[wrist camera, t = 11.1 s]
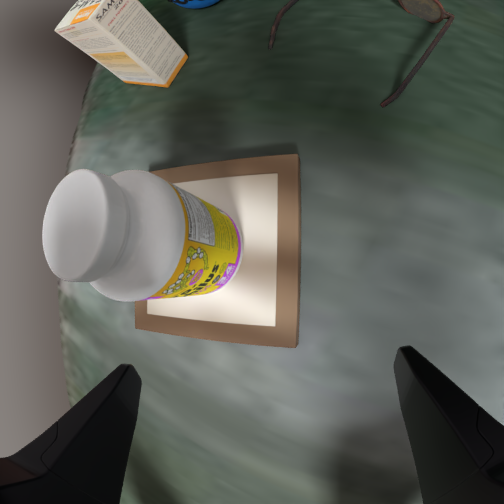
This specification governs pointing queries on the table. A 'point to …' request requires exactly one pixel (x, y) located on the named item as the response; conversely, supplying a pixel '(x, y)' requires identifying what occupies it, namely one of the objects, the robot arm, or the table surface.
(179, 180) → the walnut picture frame
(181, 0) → the ornament
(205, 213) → the supplement bottle
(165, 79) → the supplement box
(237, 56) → the table surface
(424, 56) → the eyeglasses
